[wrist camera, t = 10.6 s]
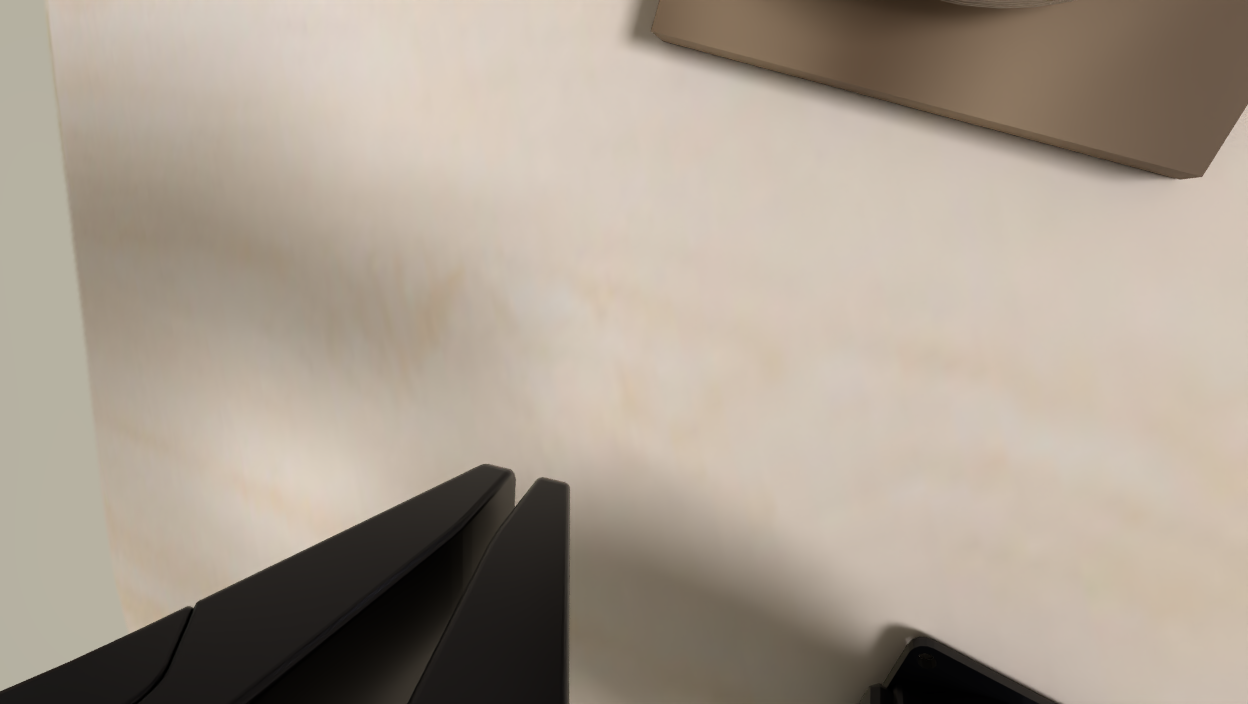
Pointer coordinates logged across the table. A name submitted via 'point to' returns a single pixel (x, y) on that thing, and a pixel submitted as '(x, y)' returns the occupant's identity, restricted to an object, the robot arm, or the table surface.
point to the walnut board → (1010, 65)
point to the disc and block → (1006, 3)
